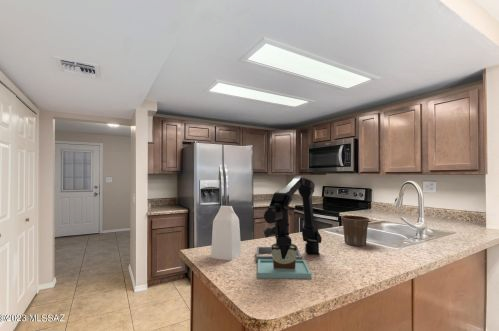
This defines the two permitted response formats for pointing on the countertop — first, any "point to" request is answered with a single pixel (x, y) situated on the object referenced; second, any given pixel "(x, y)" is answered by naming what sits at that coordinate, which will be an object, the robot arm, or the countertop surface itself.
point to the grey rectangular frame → (267, 250)
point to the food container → (289, 259)
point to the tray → (282, 270)
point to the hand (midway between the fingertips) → (282, 255)
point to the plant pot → (355, 230)
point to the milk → (226, 235)
